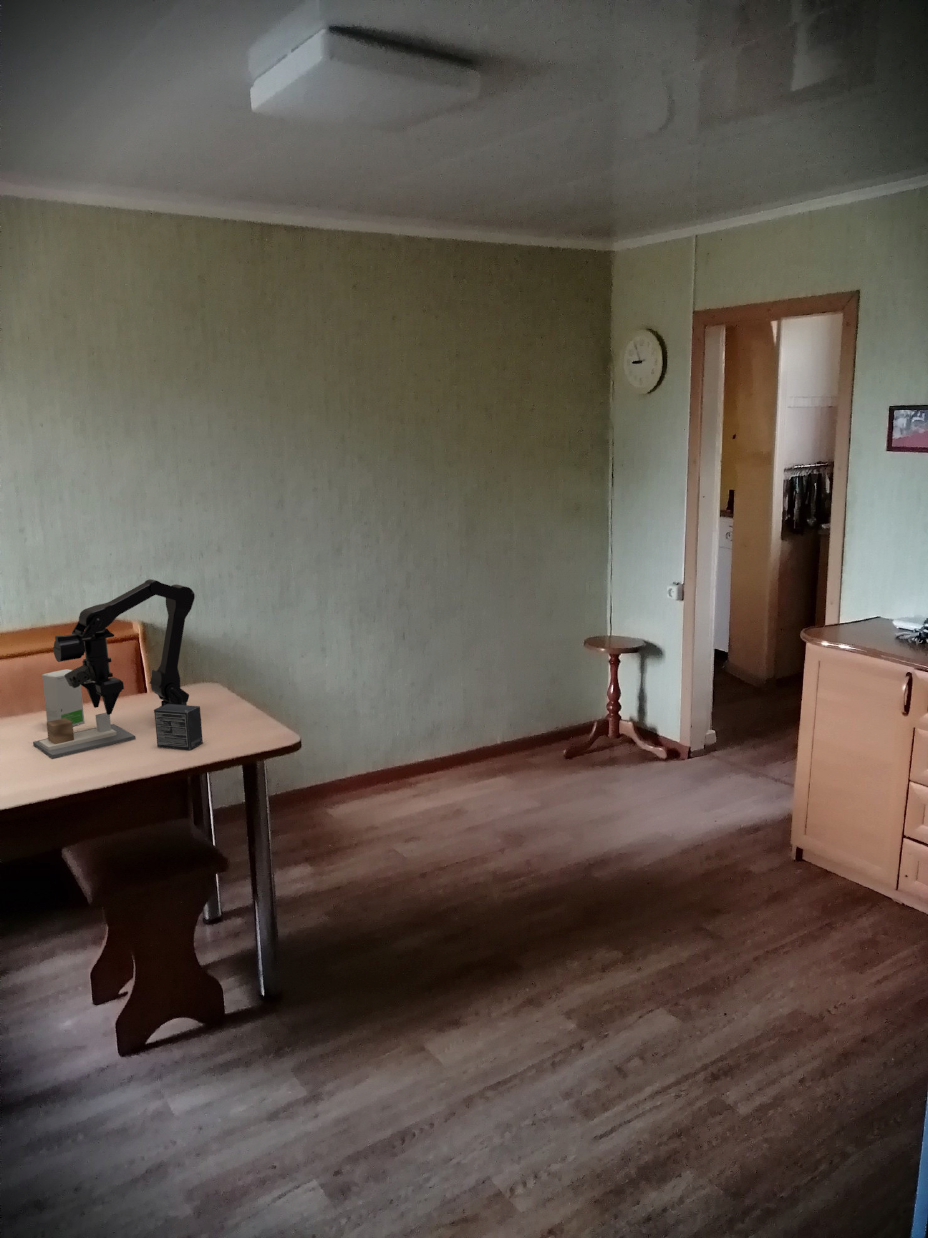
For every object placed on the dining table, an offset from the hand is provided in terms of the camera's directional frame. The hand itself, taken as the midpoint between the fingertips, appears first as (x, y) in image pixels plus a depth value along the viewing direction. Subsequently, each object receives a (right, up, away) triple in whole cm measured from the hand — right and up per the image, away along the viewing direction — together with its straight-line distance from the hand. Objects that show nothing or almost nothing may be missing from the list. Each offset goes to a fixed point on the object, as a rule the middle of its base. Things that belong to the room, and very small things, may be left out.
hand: (102, 710), depth 263 cm
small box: (+23, -9, -6) cm, 25 cm away
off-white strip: (-5, -7, -3) cm, 10 cm away
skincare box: (-16, -6, +14) cm, 21 cm away
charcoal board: (-4, -8, -2) cm, 10 cm away
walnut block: (-9, -7, -6) cm, 13 cm away
